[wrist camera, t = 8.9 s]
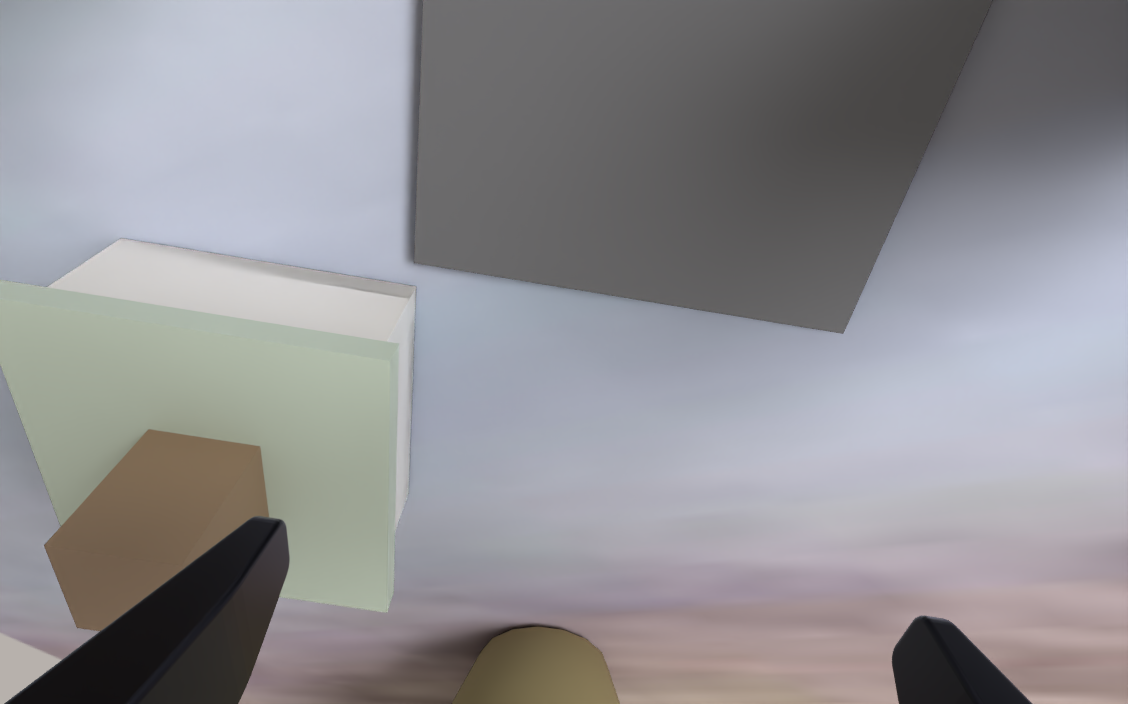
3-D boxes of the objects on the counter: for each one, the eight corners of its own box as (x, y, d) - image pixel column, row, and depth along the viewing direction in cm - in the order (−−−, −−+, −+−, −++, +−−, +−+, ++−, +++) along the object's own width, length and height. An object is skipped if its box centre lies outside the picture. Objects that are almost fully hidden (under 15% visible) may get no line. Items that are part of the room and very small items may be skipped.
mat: (1080, -219, 14) (1093, -223, 13) (839, 326, 21) (843, 333, 20) (439, -345, 13) (434, -351, 13) (417, 257, 20) (413, 262, 20)
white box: (416, 286, 21) (378, 358, 17) (408, 494, 26) (378, 581, 22) (121, 238, 20) (24, 301, 17) (170, 457, 25) (103, 540, 22)
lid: (398, 343, 17) (334, 474, 13) (393, 592, 23) (346, 738, 19) (-1, 279, 17) (-193, 394, 13) (91, 547, 22) (-23, 686, 18)
